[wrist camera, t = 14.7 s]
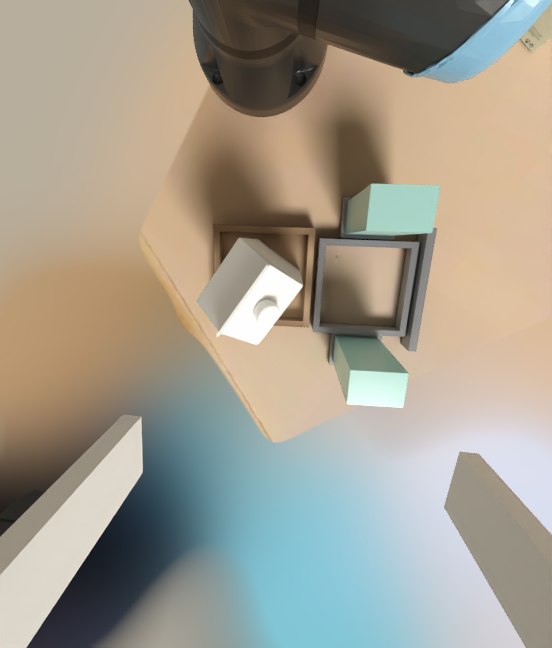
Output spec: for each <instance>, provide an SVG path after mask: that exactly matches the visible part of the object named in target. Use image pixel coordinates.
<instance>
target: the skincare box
mask: <svg viewBox="0 0 552 648" xmlns="http://www.w3.org/2000/svg"><path fill="white" fill-rule="evenodd" d="M551 38H552V3H551V4H550V5H549V7H548V8H547V9H546V10H545V11H544V13H543V14H542V15H541V16H540V17H539V18H538V19H537V21H536V22H535V23H534V24H533V25H532V26H531V27H530V29H529V30H528V31H527V32H526V33H525V34H524V35H523V36H522V37H521V38H520V40H521V41H522V42H523V43H524V44H525V45H526V46H527V48H528V49H529V50H530V51H531V52H534V51H536V50H537V49H538V48H539V47H541V46H542V45H543V44H544V43H546V42H547V41H548V40H549V39H551Z"/></svg>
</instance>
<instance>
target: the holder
mask: <svg viewBox="0 0 552 648" xmlns="http://www.w3.org/2000/svg"><path fill="white" fill-rule="evenodd" d="M439 190H440V186H437V185H403V184H370V185H369V186H367V187H366V188H365V189H363V190H362V191H361V192H360V193H358V194H357V195H356V196H354V197H344V198H343V207H342V218H341V229H340V238H358V239H384V240H395V236H396V235H409V234H418V237H417V242H402V241H375V240H349V239H323V238H319V242H318V255H317V269H316V283H315V297H314V311H313V325H312V329H313V332H324V333H331V340H330V351H329V365H334V366H335V370H336V373H337V376H338V379H339V382H340V385H341V388H342V391H343V394H344V397H345V400H346V404H351V405H367V406H383V407H398V408H403V405H404V399H405V393H406V386H407V381H408V375H409V373H408V372H407V371H406V370H405V369H404V367H403V366H402V365H401V364H400V363H399V362H398V361H397V359H396V358H395V357H394V356H393V355H392V354H391V353H390V351H389V350H388V349H387V348H386V347H385V346H384V345H383V343H382V342H381V338H382V336H400V337H402V340H401V344H402V345H403V346H404V347H405V348H406V349H407V350H408V351H416V348H417V342H418V336H419V330H420V324H421V319H422V313H423V307H424V301H425V295H426V289H427V283H428V278H429V272H430V266H431V260H432V254H433V248H434V242H435V237H436V231H437V228H433V226H434V220H435V214H436V208H437V202H438V196H439ZM326 245H338V246H363V247H389V248H407V249H406V256H405V262H404V269H403V276H402V283H401V289H400V296H399V303H398V310H397V317H396V323H395V327H386V326H367V325H347V324H328V323H320V311H321V298H322V285H323V273H324V260H325V247H326Z"/></svg>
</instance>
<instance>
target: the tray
mask: <svg viewBox="0 0 552 648" xmlns="http://www.w3.org/2000/svg"><path fill="white" fill-rule="evenodd" d="M239 238H249V239H259V240H261V241H262V242H263V243H264V244H266V245H267V246H268V247H270V248H271V249H272V250H274V251H275V252H276V253H278V254H279V255H280V256H282V257H283V258H284V259H285V260H287V261H288V262H289V263H291V264H292V265H293V266H295V267H296V268H297V269H299V270H300V273H301V278H302V283H303V287H302V288H301V290H300V291H299V292H298V294H297V295H296V296H295V298H294V299H293V300H292V302H291V303H290V304H289V306H288V307H287V308H286V309H285V311H284V312H283V313H282V315H281V316H280V317H279V319H278V320H277V321H276V322H275V324H274V325H273V326H292V327H309V315H310V300H311V286H312V271H313V257H314V242H315V228H296V227H269V226H242V225H214V274H215V272H216V271H217V269H218V268H219V266H220V265H221V263H222V262H223V260H224V259H225V258H226V256H227V255H228V253H229V252H230V250H231V249H232V247H233V246H234V244H235V243H236V241H237V240H238V239H239Z"/></svg>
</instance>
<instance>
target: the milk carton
mask: <svg viewBox="0 0 552 648" xmlns="http://www.w3.org/2000/svg"><path fill="white" fill-rule="evenodd" d="M302 287H303V283H302V278H301V273H300V270H299V269H297V268H296V267H295V266H293V265H292V264H291V263H289V262H288V261H287V260H285V259H284V258H283V257H282V256H280V255H279V254H278V253H276V252H275V251H274V250H272V249H271V248H270V247H268V246H267V245H266V244H264V243H263V242H262V241H261V240H259V239H249V238H239V239H238V240H237V241H236V243H235V244H234V246H233V247H232V249H231V250H230V252H229V253H228V255H227V256H226V258H225V259H224V260H223V262H222V263H221V265H220V266H219V268H218V269H217V271H216V272H215V274H214V275H213V277H212V278H211V280H210V281H209V283H208V284H207V286H206V287H205V289H204V290H203V292H202V293H201V295H200V296H199V298H198V299H197V303H198V304H199V306H200V307H201V309H202V310H203V311H204V313H205V314H206V315H207V317H208V318H209V319H210V321H211V322H212V323H213V325H214V326H215V327H216V329H217V330H218V331H219V332H218V333H217V335H216V336H217V337H218V336H219V335H220V334H224V335H227V336H230V337H234V338H237V339H240V340H243V341H246V342H249V343H252V344H255V345H257V344H259V343H260V342H261V340H262V339H263V338H264V337H265V335H266V334H267V333H268V331H269V330H270V329H271V328H272V326H273V325H274V324H275V322H276V321H277V320H278V319H279V317H280V316H281V315H282V313H283V312H284V311H285V309H286V308H287V307H288V306H289V304H290V303H291V302H292V300H293V299H294V298H295V296H296V295H297V294H298V292H299V291H300V290H301V288H302Z"/></svg>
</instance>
